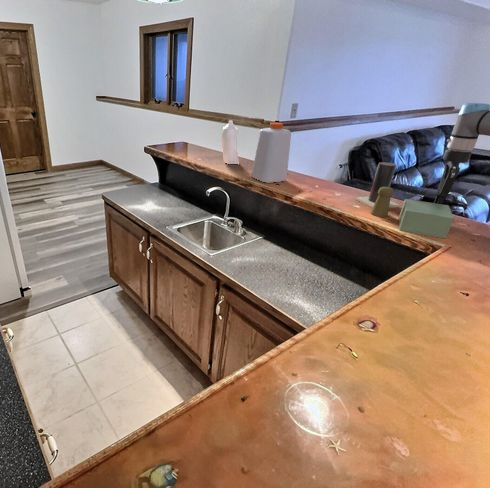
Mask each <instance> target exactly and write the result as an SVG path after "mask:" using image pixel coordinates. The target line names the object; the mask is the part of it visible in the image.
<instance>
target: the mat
mask: <svg viewBox="0 0 490 488" xmlns="http://www.w3.org/2000/svg"><path fill="white" fill-rule="evenodd" d="M355 199H356V200H355ZM368 199H369V196H355V197H354V200H355V201H357V200H358V201H357V202H359V201H360V202H359V203H361V204H363V205H365V206H367V207H369V208H370V209H371V208H372V209H373V206H374V204H375V203H374V202H371V201H369V200H368ZM391 208H400V204H398V203H396V202H394V201H391V200H390V205H389V209H391Z"/></svg>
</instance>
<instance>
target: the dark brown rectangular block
mask: <svg viewBox="0 0 490 488" xmlns="http://www.w3.org/2000/svg"><path fill="white" fill-rule="evenodd" d="M396 169H397V164H396V163H392V162H388V161H387V162H384V161H381V162H380V161H379V162H378V164H377V167H376V171H375V174H374V178H373V182H372V185H371V188H370V191H369V196H368V197H369V199H368V200H369V201H371V202H374V203H375V202H376V200H377V198H378V196H379V194H378V190H379V189H380V188H381V187H390V188H391V184H392V181H393V178H394V175H395V171H396Z"/></svg>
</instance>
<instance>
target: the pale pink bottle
mask: <svg viewBox="0 0 490 488" xmlns="http://www.w3.org/2000/svg"><path fill="white" fill-rule="evenodd" d="M233 121H234V120H231V119H229V120H228V123H227V124H226V125H225V126H224V127H222V130H221V149H222V158H223V163H224V162H225V163H227V164H226V165H228V164H238V165H240V160H239V154H238V148H237V146H238V145H237V144H238V131H239V130H238V129H239V128H238V127H237V126H235V124H234V122H233ZM225 163H224V164H225Z"/></svg>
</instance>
